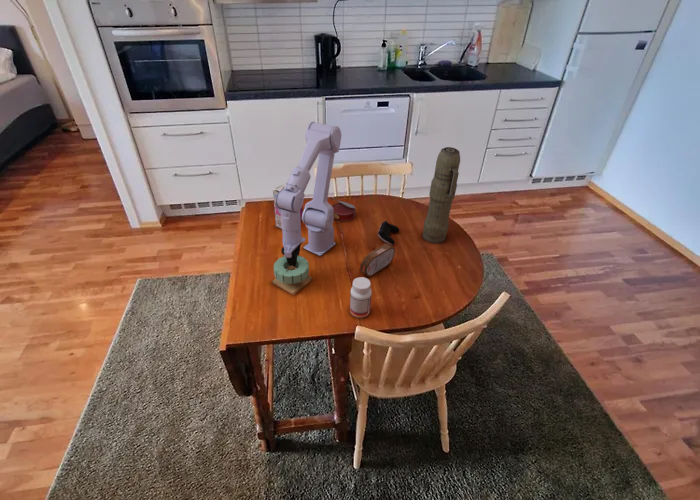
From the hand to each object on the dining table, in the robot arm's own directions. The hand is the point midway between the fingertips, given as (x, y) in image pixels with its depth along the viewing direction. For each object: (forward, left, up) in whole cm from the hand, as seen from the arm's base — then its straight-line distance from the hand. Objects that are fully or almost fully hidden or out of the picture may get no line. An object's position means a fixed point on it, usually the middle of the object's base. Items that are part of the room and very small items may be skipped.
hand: (293, 261), depth 128 cm
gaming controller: (-38, +14, -5) cm, 41 cm away
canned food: (-41, -9, -5) cm, 42 cm away
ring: (+3, +2, -2) cm, 4 cm away
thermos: (-49, +28, -5) cm, 56 cm away
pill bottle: (+1, +27, -5) cm, 27 cm away
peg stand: (+3, +2, -5) cm, 6 cm away
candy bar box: (-23, -22, -5) cm, 32 cm away
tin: (-19, +21, -5) cm, 28 cm away
